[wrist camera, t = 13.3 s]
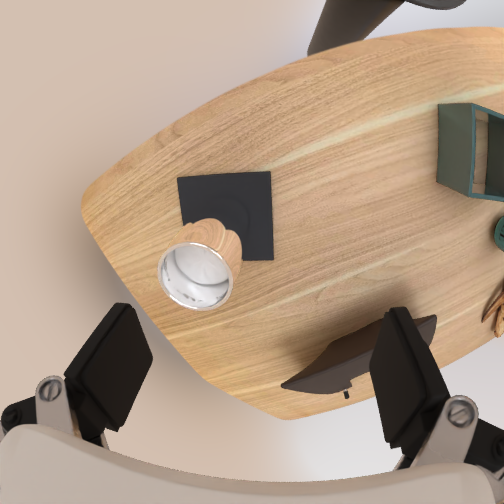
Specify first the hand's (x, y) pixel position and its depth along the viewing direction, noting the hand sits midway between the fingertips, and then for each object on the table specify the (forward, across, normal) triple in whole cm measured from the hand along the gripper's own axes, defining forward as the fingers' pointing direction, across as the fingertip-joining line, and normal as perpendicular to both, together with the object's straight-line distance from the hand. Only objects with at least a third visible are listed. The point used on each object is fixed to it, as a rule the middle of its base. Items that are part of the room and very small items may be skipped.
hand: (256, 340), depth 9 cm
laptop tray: (+27, -16, +28) cm, 42 cm away
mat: (+27, +6, +4) cm, 28 cm away
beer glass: (+26, +6, +4) cm, 27 cm away
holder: (+27, -28, -7) cm, 40 cm away
